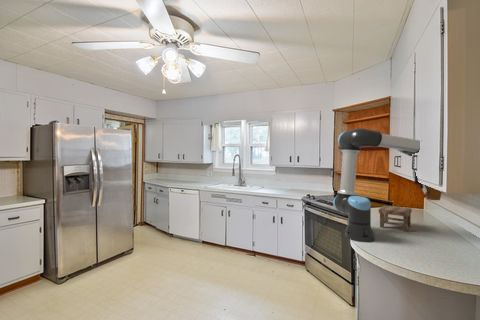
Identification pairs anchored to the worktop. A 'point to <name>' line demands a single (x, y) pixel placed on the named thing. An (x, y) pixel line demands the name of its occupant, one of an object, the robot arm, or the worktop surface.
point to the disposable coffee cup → (432, 194)
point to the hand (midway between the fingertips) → (435, 192)
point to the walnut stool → (395, 211)
